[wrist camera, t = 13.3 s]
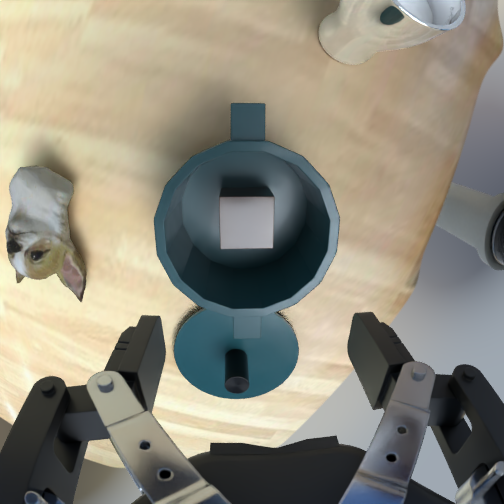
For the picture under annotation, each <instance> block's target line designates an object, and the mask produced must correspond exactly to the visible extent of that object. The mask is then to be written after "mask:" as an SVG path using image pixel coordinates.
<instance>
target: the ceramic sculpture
mask: <svg viewBox="0 0 504 504" xmlns="http://www.w3.org/2000/svg"><path fill="white" fill-rule="evenodd" d="M9 191H10V195H11V199H12V209H11V212H10V215H9V220H8V225H7V228H6V239H7V252H8V258H9V261H10V263H11V265H12V266H13V267H14V268H15V269H16V279H17V283H20V282H21V281H22V279H23V278H24V277H28V278H31V279H39V280H40V279H45V278H47V277H49V276H51V275H53V274H55V273H57V276H58V277H59V278H60V280H61V282H62V283H63V284H64V285H65V286H66V287H68V288H69V289H70V290H71V291H72V292H73V293H74V294H75V295H76V296H77V298H78V299H79V301H80V302H82V299H83V294H84V290H85V285H86V270H85V266H84V262H83V260H82V258H81V256H80V254H79V252H78V251H77V249H76V247H75V246H74V244H73V243H72V241H71V239H70V230H69V225H68V212H67V207H68V204H69V201H70V199H71V197H72V195H73V192H74V187H73V184H72V183H71V182H70V181H69V180H67V179H65V178H64V177H62V176H60V175H59V174H57V173H54V172H53V171H51V170H50V169H49V168H47V167H39V166H29V167H20V168H19V169H18V171H17V172H16V174H15V175H14V177H13V178H12V180H11V182H10V185H9Z"/></svg>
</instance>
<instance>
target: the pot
mask: <svg viewBox="0 0 504 504" xmlns="http://www.w3.org/2000/svg"><path fill="white" fill-rule="evenodd" d="M221 188H269V189H270V190H271V192H272V193H273V195H274V197H275V203H274V243H273V249H220V225H219V195H220V191H221ZM339 218H340V217H339V213H338V210H337V207H336V204H335V201H334V198H333V195H332V192H331V189H330V186H329V185H328V183H327V182H326V181H325V179H324V178H323V177H322V176H321V175H320V174H319V173H318V172H317V171H316V169H315V168H314V167H313V166H312V165H311V164H310V163H309V162H308V161H307V160H306V159H305V158H304V157H303V156H301V155H299V154H297V153H295V152H292V151H290V150H288V149H286V148H283V147H281V146H279V145H277V144H274V143H272V142H270V141H265V104H264V103H231V140H227V141H225V142H222V143H220V144H218V145H215V146H213V147H211V148H208V149H206V150H204V151H202V152H200V153H198V154H196V155H194V156H192V157H191V158H190V159H189V160H188V161H187V162H186V163H185V164H184V165H183V166H182V167H181V168H180V169H179V171H178V172H177V173H176V174H175V175H174V176H173V177H172V178H171V179H170V180H169V181H168V183H167V184H166V185H165V188H164V190H163V193H162V196H161V199H160V202H159V205H158V208H157V211H156V214H155V217H154V228H155V240H156V250H157V256H158V258H159V260H160V262H161V263H162V265H163V267H164V269H165V271H166V273H167V275H168V276H169V278H170V280H171V282H172V284H173V285H174V286H175V287H176V288H178V289H179V290H180V291H181V292H182V293H184V294H185V295H186V296H187V297H188V298H190V299H191V300H192V301H193V302H194V303H196V304H197V305H198V306H200V307H203V308H205V309H208V310H211V311H214V312H217V313H220V314H223V315H226V316H229V317H233V338H234V339H246V338H261V318H262V317H264V316H267V315H269V314H272V313H275V312H277V311H280V310H283V309H285V308H288V307H290V306H293V305H295V304H297V303H298V302H299V301H300V300H301V299H302V298H304V297H305V296H306V295H307V294H308V293H309V292H311V291H312V290H313V289H314V288H315V287H316V286H317V285H319V284H320V282H321V281H322V279H323V278H324V276H325V274H326V272H327V270H328V268H329V266H330V264H331V262H332V261H333V259H334V257H335V255H336V252H337V244H338V234H339V223H340V219H339Z"/></svg>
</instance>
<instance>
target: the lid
mask: <svg viewBox="0 0 504 504" xmlns="http://www.w3.org/2000/svg"><path fill="white" fill-rule="evenodd" d="M298 355H299V347H298V341H297V338H296V335H295V333H294V331H293V329H292V327H291V326H290V324H289V323H288V322H287V321H286V320H285V319H284V318H283V317H282V316H281V315H279V314H278V313H277V312H275V313H272V314H269V315H267V316H264V317H262V318H261V338H246V339H234V338H233V317H229V316H226V315H223V314H220V313H217V312H214V311H211V310H208V309H205V308H203V309H201V310H199V311H198V312H196V313H194V314H193V315H192V316H191V317H189V318H188V319H187V320H186V321H185V322H184V324H183V325H182V327H181V328H180V330H179V332H178V334H177V336H176V340H175V344H174V357H175V361H176V364H177V366H178V368H179V370H180V372H181V373H182V375H183V376H184V377H185V378H186V379H187V380H188V381H189V382H190V383H191V384H192V385H193V386H195V387H196V388H198V389H200V390H201V391H203V392H206V393H208V394H211V395H214V396H217V397H222V398H228V399H245V398H251V397H256V396H259V395H262V394H265V393H267V392H269V391H271V390H273V389H275V388H276V387H278V386H279V385H281V384H282V383H283V382H284V381H285V380H286V379H287V378H288V377H289V376H290V374H291V373H292V371H293V370H294V368H295V366H296V363H297V360H298Z"/></svg>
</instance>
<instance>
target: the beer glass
mask: <svg viewBox="0 0 504 504" xmlns="http://www.w3.org/2000/svg"><path fill="white" fill-rule="evenodd" d="M465 10H466V6H465V0H340V3H339V6H338V9H337V11H335V12H333V13H331V14H329V15H327V16H326V17H325V18H324V19H323V20H322V22H321V24H320V26H319V32H318V34H319V40H320V43H321V45H322V47H323V49H324V50H325V51H326V52H327V53H328V54H329V55H330V56H331V57H332V58H333V59H335V60H337V61H339V62H341V63H344V64H348V65H358V64H362V63H364V62H366V61H368V60H369V59H370V58H371V57H372V56H373V55H374V54H375V53H376V52H380V51H392V50H400V49H405V48H410V47H413V46H416V45H420V44H422V43H425V42H427V41H429V40H431V39H433V38H435V37H437V36H439V35H441V34H443V33H445V32H447V31H449V30H452V29H454V28H456V27H458V26H459V25H460V24H461V22H462V21H463V19H464V16H465Z"/></svg>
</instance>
